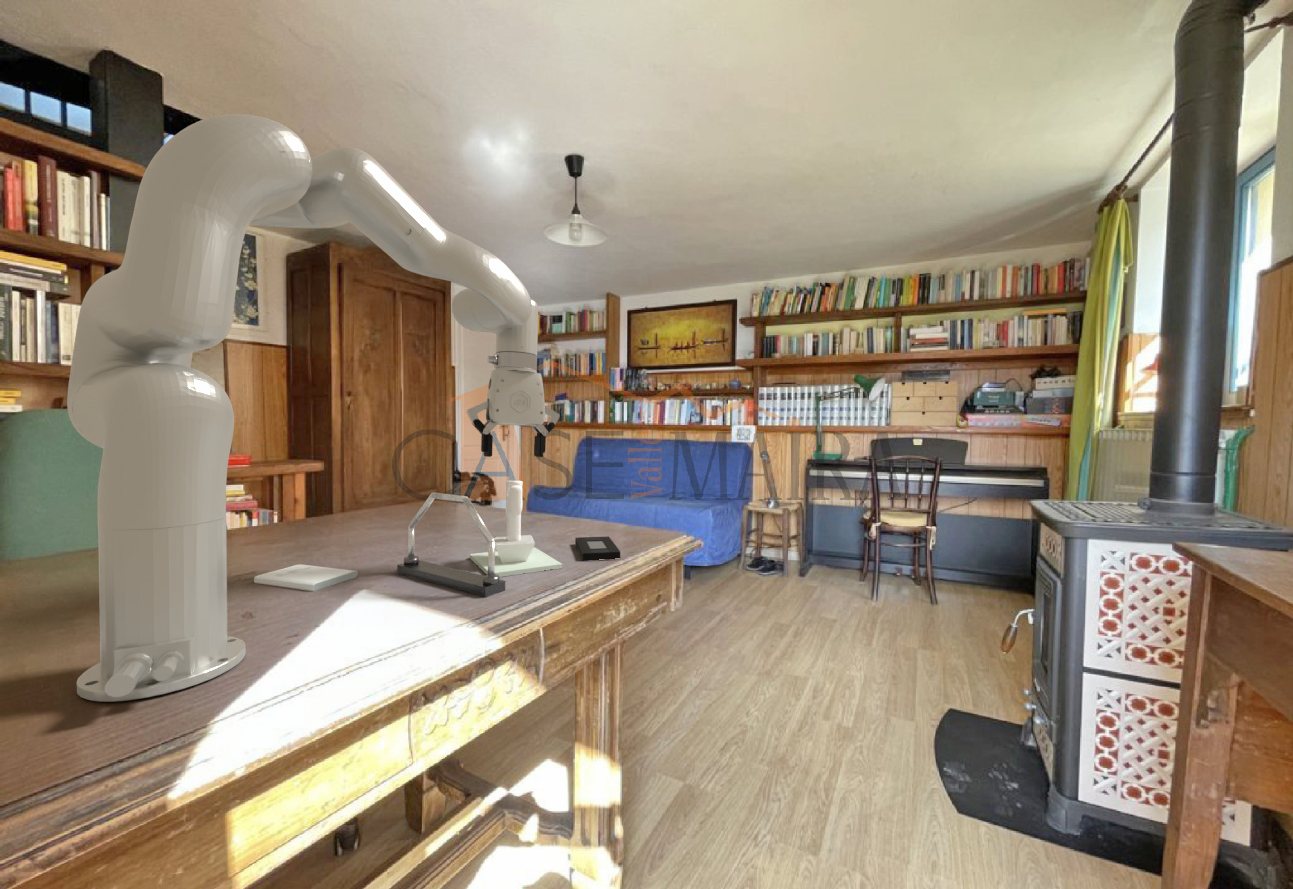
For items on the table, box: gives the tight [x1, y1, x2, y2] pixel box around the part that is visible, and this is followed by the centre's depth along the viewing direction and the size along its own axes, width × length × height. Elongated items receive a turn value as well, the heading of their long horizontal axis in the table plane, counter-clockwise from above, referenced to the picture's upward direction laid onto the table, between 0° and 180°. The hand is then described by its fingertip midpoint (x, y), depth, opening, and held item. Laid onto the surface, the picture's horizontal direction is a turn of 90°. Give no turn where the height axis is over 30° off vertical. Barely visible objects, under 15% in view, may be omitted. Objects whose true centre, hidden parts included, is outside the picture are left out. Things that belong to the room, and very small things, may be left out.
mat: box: [469, 546, 563, 578], centre depth 96 cm, size 15×13×1 cm
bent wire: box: [396, 492, 506, 598], centre depth 84 cm, size 22×4×14 cm, turn 59°
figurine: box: [492, 479, 536, 563], centre depth 96 cm, size 7×9×15 cm
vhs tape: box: [574, 536, 621, 561], centre depth 107 cm, size 8×14×2 cm, turn 13°
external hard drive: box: [253, 563, 358, 592], centre depth 84 cm, size 2×8×12 cm
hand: (513, 456), depth 95 cm, fingers open, 9 cm apart
